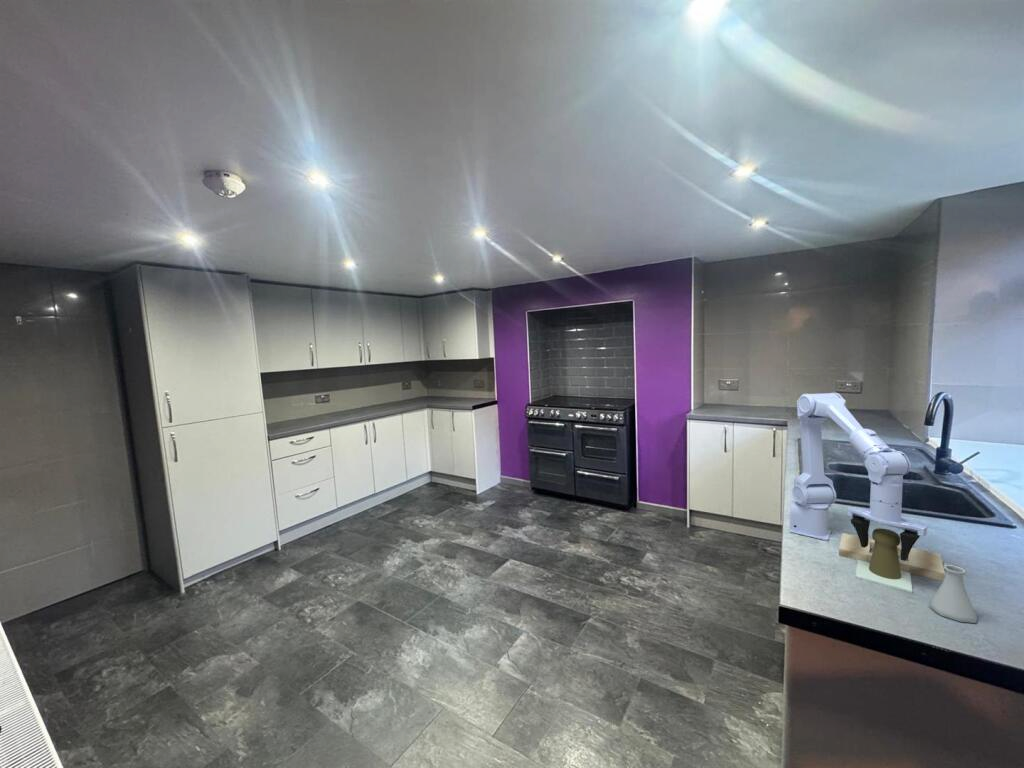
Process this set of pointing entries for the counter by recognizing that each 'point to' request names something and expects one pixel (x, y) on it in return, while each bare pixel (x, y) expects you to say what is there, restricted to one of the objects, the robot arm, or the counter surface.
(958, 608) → the flask
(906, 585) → the rubber mat
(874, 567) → the cork
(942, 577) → the socket board
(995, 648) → the counter surface
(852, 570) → the counter surface
